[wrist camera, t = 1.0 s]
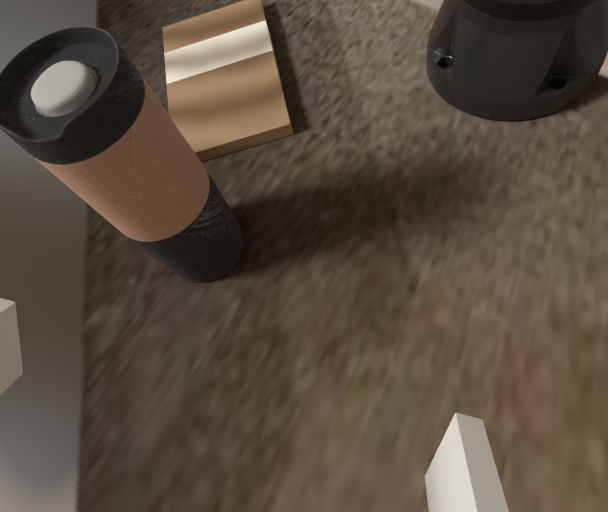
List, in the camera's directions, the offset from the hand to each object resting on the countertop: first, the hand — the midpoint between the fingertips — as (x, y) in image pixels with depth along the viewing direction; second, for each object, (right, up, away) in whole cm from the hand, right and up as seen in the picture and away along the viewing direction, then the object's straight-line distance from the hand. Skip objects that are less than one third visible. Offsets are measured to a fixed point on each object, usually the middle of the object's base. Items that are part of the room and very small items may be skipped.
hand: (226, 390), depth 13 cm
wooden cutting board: (-6, +23, +36) cm, 43 cm away
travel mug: (-6, +5, +28) cm, 29 cm away
